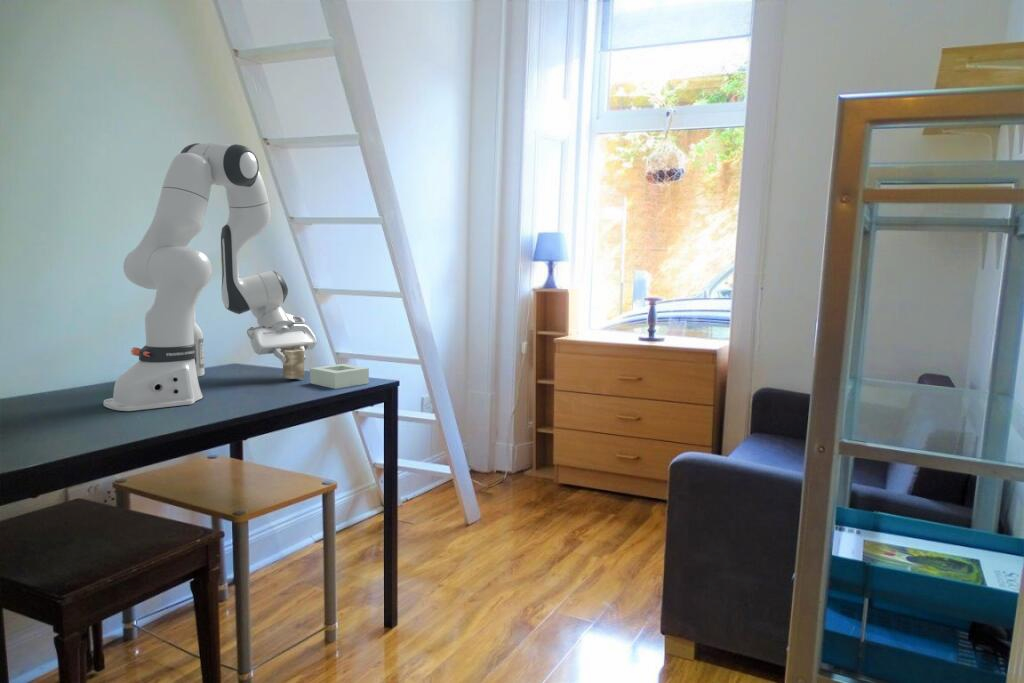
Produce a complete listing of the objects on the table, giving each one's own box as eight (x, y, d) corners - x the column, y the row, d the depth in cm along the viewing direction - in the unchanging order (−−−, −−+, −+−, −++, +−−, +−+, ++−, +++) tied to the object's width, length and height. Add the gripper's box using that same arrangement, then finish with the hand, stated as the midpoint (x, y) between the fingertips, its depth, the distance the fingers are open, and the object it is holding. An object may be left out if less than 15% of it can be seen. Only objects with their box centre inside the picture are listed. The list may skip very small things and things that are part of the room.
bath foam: (199, 373, 221) (197, 309, 218) (207, 376, 216) (205, 311, 213) (176, 375, 216) (173, 310, 214) (184, 378, 211) (181, 311, 209)
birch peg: (291, 378, 209) (291, 352, 209) (283, 376, 212) (282, 350, 211) (304, 377, 213) (304, 350, 212) (295, 375, 216) (295, 349, 215)
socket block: (335, 388, 200) (335, 373, 200) (310, 383, 208) (310, 368, 207) (368, 383, 209) (368, 368, 209) (343, 378, 217) (343, 363, 216)
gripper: (248, 320, 207) (267, 357, 202) (308, 317, 223) (327, 351, 218) (240, 334, 210) (259, 371, 205) (300, 330, 226) (318, 364, 221)
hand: (294, 361), depth 212 cm, fingers closed on birch peg, 4 cm apart
